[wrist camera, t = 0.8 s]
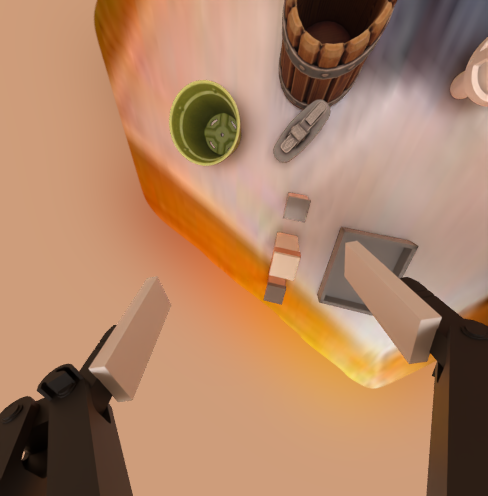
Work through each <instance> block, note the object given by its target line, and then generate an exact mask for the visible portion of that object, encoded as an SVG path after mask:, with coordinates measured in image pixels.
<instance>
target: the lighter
mask: <svg viewBox="0 0 488 496" xmlns="http://www.w3.org/2000/svg"><path fill="white" fill-rule="evenodd" d="M329 116H330V107H329V105H328V103H327V102H325V101H324V100H321V99H320V100H315V101H314V102H312V103H311V104H310V105H309V106H307V107H306V108H305V109H304V110H303V111H301V112H300V113H299V114H298V116H297V117H296V118H295V119H294V120H293V121H292V122H291V123H290V124H289V125H288V127H287V128H286V129H285V131H284V132H283V133H282V135H281V136H280V138H279V140H278V141H277V143H276V145H275V147H274V156H275V158H276V159H277V160H278V161H280V162H282V163H287V162H289V161H290V160H292V159H293V158H294V157H296V156H297V155H298V154H299V153H300V152H301V151H302V150H303V149H304V148H305V147H306V146H307V145H308V144H309V143H310V142H311V141H312V140H313V139H314V137H315V136H316V135H317V134H318V133H319V131H320V130H321V129H322V127H323V126H324V124H325V123H326V121H327V120H328V118H329Z"/></svg>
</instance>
